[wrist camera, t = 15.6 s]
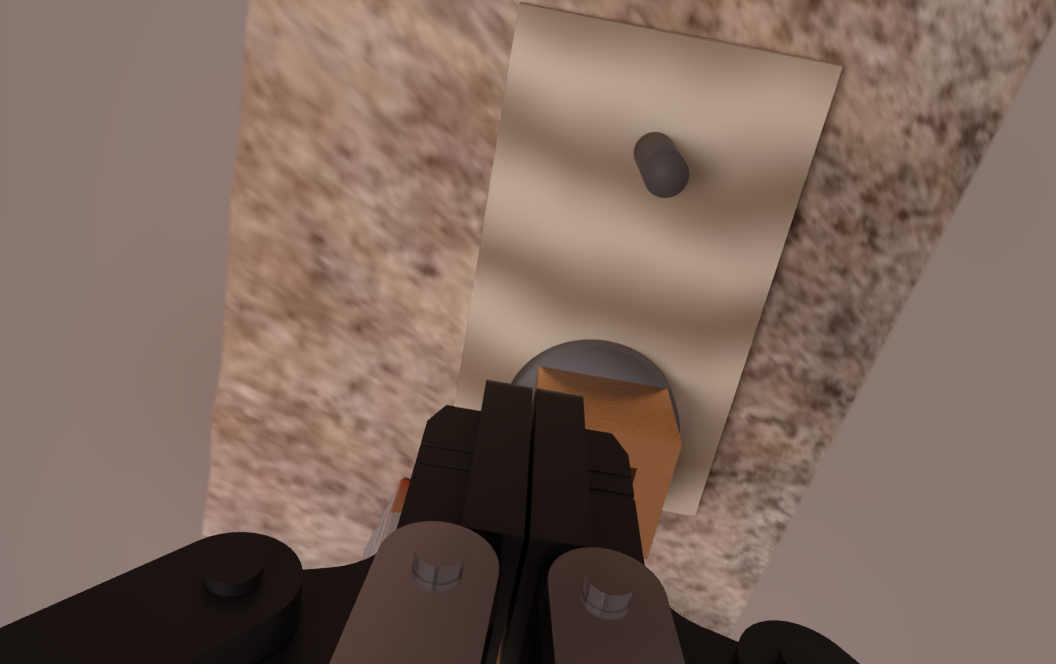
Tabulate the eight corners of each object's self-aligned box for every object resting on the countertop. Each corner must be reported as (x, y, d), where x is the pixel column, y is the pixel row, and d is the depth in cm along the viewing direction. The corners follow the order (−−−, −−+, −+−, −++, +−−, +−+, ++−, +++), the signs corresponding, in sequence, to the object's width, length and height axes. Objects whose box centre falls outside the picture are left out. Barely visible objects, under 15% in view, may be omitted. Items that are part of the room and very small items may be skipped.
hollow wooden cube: (538, 366, 39) (536, 419, 34) (667, 388, 39) (682, 443, 34) (516, 474, 41) (511, 536, 37) (637, 494, 42) (646, 558, 37)
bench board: (520, 2, 35) (512, 9, 28) (831, 62, 35) (892, 83, 29) (446, 458, 45) (428, 540, 38) (690, 499, 45) (712, 586, 39)
